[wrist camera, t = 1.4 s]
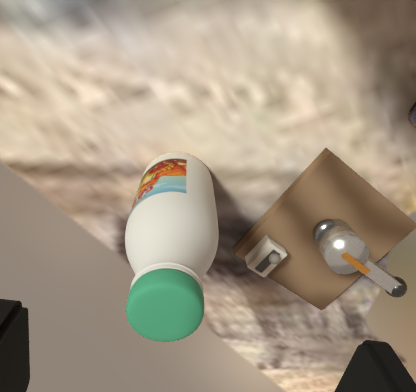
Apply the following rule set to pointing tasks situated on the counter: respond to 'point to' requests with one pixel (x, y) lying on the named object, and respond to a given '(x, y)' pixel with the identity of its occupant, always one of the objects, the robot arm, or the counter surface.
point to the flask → (413, 115)
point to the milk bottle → (170, 246)
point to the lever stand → (306, 221)
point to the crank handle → (352, 255)
